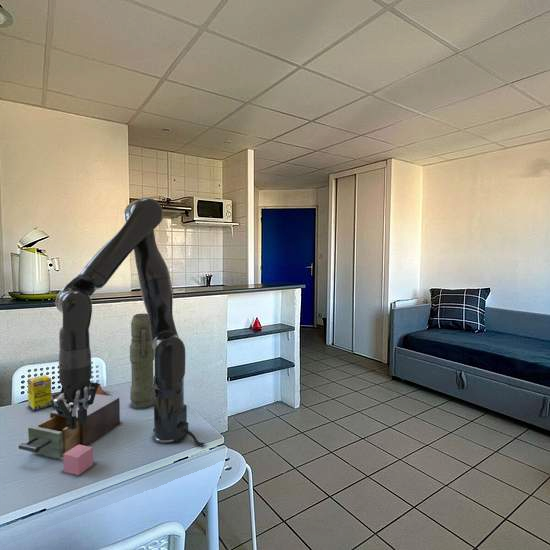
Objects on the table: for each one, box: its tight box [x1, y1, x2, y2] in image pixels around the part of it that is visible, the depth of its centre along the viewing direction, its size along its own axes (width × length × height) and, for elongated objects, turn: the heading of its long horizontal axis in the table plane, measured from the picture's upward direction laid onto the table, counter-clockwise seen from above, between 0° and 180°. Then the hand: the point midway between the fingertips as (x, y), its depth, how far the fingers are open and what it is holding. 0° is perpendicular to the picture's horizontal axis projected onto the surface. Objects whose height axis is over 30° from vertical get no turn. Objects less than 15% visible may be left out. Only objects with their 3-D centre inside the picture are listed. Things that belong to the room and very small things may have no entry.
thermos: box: [129, 313, 155, 410], centre depth 134 cm, size 9×12×35 cm
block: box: [62, 444, 94, 476], centre depth 95 cm, size 5×5×5 cm
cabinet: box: [49, 394, 121, 446], centre depth 114 cm, size 16×13×9 cm
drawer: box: [18, 416, 81, 459], centre depth 104 cm, size 19×11×7 cm, turn 163°
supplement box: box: [27, 374, 53, 412], centre depth 132 cm, size 6×6×11 cm
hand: (77, 425), depth 95 cm, fingers closed
